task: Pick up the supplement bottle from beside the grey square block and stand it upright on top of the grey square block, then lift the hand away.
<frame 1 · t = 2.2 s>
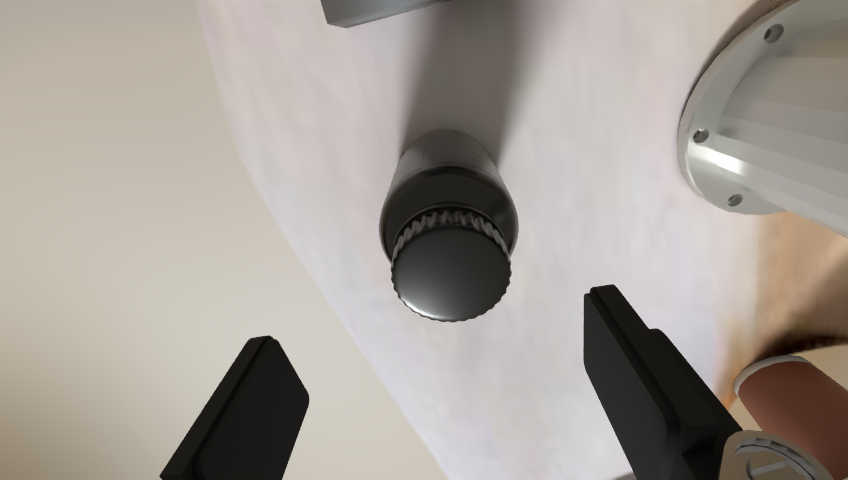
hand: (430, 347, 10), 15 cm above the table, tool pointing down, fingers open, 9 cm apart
supplement bottle: (446, 177, 24), on the table
coffee cup: (769, 377, 32), on the table
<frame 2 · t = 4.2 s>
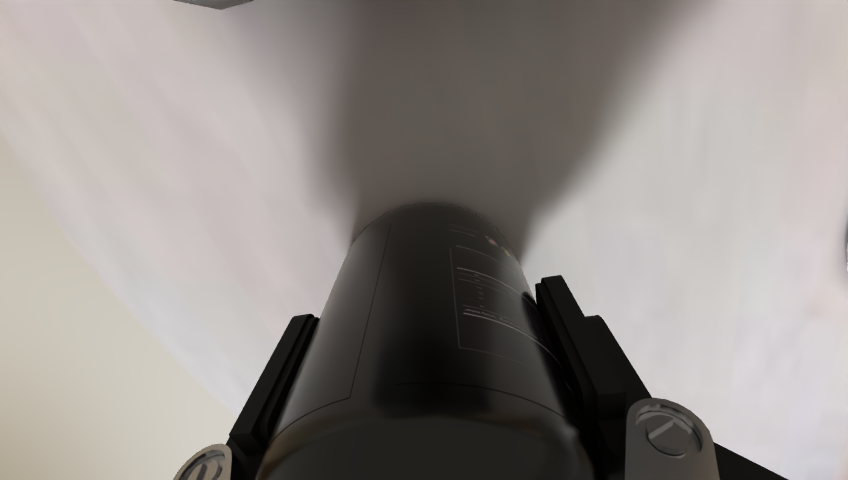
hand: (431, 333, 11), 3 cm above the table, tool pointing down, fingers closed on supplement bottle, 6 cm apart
supplement bottle: (432, 272, 14), on the table, touching gripper
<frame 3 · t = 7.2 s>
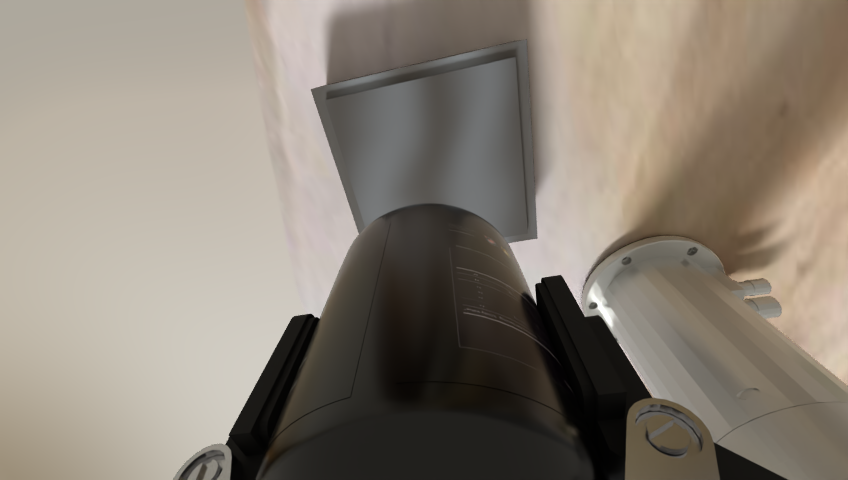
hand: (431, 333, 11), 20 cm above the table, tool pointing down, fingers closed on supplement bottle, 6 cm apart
grey square block: (435, 157, 28), on the table
supplement bottle: (431, 272, 14), point 16 cm above the table, touching gripper
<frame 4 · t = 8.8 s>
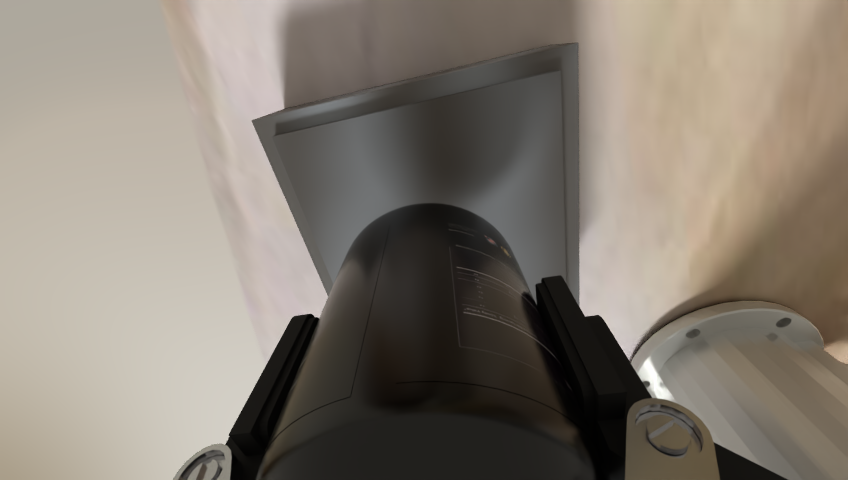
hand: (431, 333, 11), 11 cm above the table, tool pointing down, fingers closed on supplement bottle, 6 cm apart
grey square block: (437, 203, 21), on the table
supplement bottle: (431, 272, 14), point 8 cm above the table, touching gripper
when the fingers open (8 cm above the table, at t = 10.3 s): supplement bottle stays where it is, resting on grey square block.
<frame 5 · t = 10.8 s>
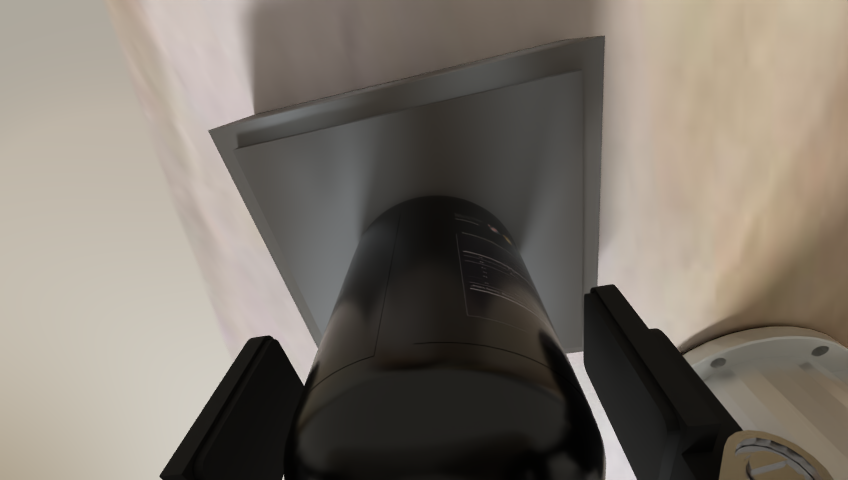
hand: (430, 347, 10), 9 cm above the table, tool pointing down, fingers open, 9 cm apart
grey square block: (432, 221, 18), on the table
supplement bottle: (437, 261, 15), point 4 cm above the table, touching grey square block
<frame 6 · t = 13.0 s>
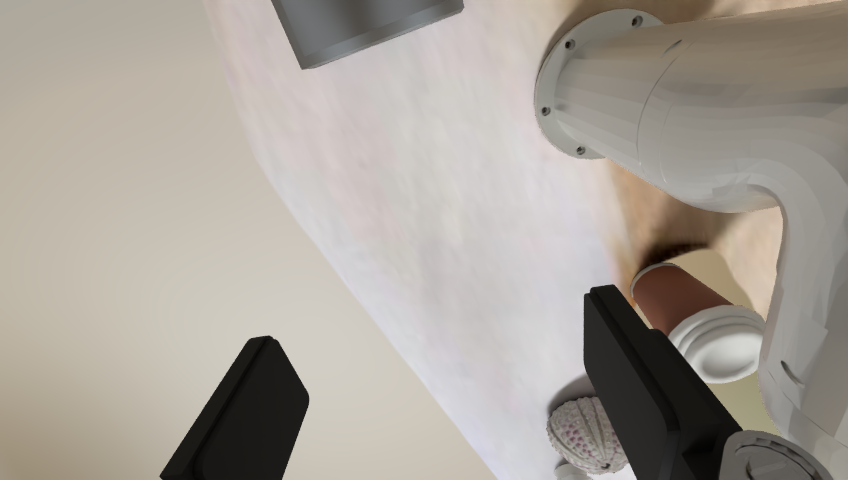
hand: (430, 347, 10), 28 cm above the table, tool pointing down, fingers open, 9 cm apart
sea urchin shell: (583, 413, 55), on the table
coffee cup: (655, 283, 43), on the table
candle: (569, 470, 63), on the table
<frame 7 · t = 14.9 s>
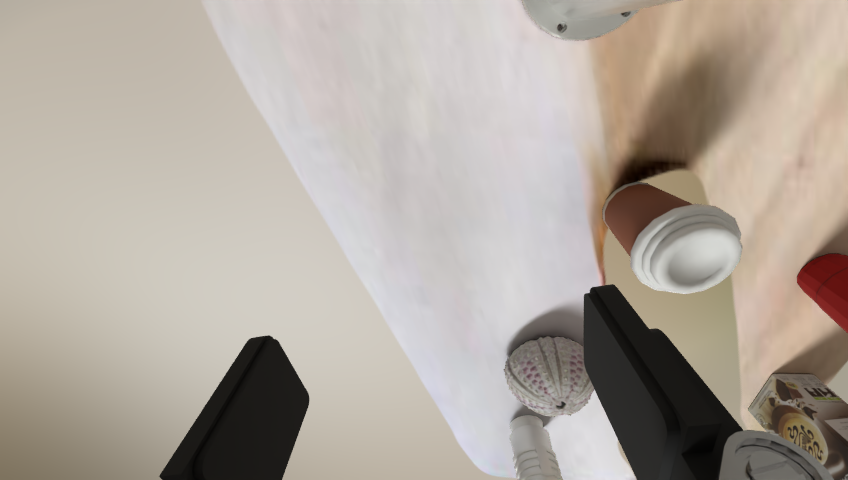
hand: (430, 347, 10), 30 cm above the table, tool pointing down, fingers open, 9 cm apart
coffee box: (776, 391, 55), on the table
sea urchin shell: (544, 358, 53), on the table
coffee cup: (629, 207, 40), on the table
candle: (526, 424, 61), on the table
plastic cup: (818, 270, 44), on the table
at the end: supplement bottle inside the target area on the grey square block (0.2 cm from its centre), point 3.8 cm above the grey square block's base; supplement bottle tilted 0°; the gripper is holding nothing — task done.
